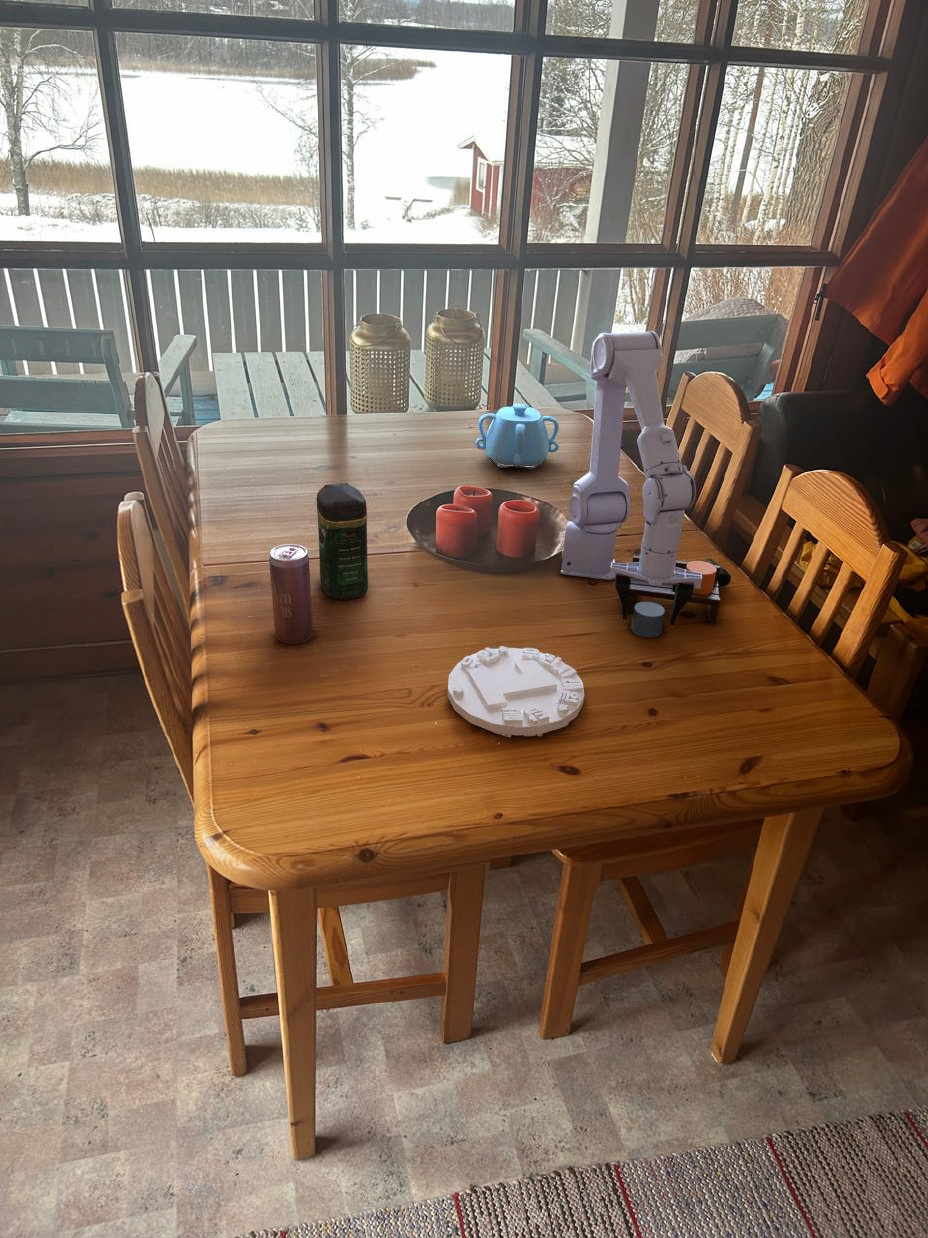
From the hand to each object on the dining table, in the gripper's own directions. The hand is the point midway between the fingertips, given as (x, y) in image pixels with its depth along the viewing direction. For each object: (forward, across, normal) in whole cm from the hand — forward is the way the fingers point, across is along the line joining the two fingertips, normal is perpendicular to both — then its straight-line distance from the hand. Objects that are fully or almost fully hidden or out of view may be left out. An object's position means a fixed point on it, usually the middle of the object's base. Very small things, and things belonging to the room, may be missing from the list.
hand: (648, 619), depth 151 cm
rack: (+2, +4, +10) cm, 11 cm away
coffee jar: (+2, -52, +1) cm, 53 cm away
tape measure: (+2, +10, +20) cm, 22 cm away
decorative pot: (+2, -32, +70) cm, 77 cm away
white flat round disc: (+2, -18, -24) cm, 31 cm away
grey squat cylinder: (+2, 0, 0) cm, 2 cm away
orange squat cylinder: (-2, +8, +10) cm, 13 cm away
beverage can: (+2, -56, -16) cm, 58 cm away
